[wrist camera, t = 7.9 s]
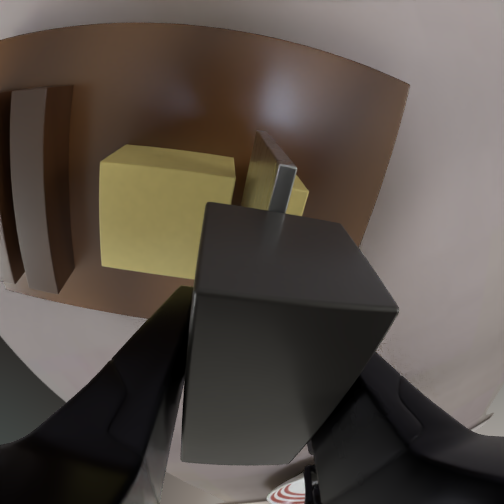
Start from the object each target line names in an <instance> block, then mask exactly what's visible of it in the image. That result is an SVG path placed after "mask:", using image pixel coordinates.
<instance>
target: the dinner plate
mask: <svg viewBox="0 0 504 504" xmlns="http://www.w3.org/2000/svg"><path fill="white" fill-rule="evenodd" d="M304 472H305V471H304ZM267 500H268V501H269V502H270V503H273V504H304V501H305V481H304V475H303V473H301V474H299V475H298V476H296V477H293V478H291V479H289V480H288V481H286V482H284V483H282V484H281V485H279V486H278V487H276V488H275V489H273V490H272V491H271V492H270V493H269V494H268V496H267Z"/></svg>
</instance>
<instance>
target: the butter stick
mask: <svg viewBox="0 0 504 504" xmlns="http://www.w3.org/2000/svg"><path fill="white" fill-rule="evenodd" d="M235 181H236V175H235V165H234V158H232V157H226V156H220V155H213V154H206V153H199V152H191V151H184V150H176V149H167V148H158V147H148V146H138V145H125V146H123V147H121V148H120V149H118V150H117V151H115V152H114V153H112V154H111V155H109V156H108V157H106V158H105V159H103V160H102V161H101V162H100V177H99V221H100V246H101V262H102V266H105V267H111V268H117V269H124V270H131V271H137V272H144V273H151V274H158V275H165V276H172V277H179V278H187V279H195V271H196V264H197V257H198V250H199V243H200V236H201V230H202V223H203V217H204V211H205V205H206V203H207V202H216V203H223V204H229V205H231V202H232V197H233V191H234V186H235Z"/></svg>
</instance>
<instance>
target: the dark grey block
mask: <svg viewBox="0 0 504 504" xmlns="http://www.w3.org/2000/svg"><path fill="white" fill-rule="evenodd" d="M296 172H297V167H296V166H295V164H294V163H293V162H292V161H291V160H290V158H289V157H288V156H287V155H286V154H285V153H284V151H283V150H282V149H281V148H280V147H279V146H278V144H277V143H276V142H275V141H274V140H273V139H272V137H271V136H270V135H269V134H268V133H267V132H264V131H256V135H255V140H254V145H253V149H252V154H251V159H250V163H249V168H248V173H247V178H246V183H245V188H244V192H243V197H242V202H241V206H236V205H229V204H223V203H216V202H207V203H206V205H205V211H204V217H203V223H202V230H201V236H200V243H199V250H198V257H197V264H196V271H195V279H194V286H193V295H192V304H191V314H190V324H189V334H188V345H187V357H186V369H185V383H184V398H183V415H182V435H181V461H182V462H188V463H200V464H216V465H282V464H289V463H290V462H291V461H292V460H293V459H294V457H295V456H296V455H297V454H298V453H299V452H300V451H301V450H302V448H303V447H304V446H305V445H306V444H307V443H308V441H309V440H310V439H311V438H312V437H313V436H314V434H315V433H316V432H317V431H318V430H319V428H320V427H321V426H322V425H323V423H324V422H325V421H326V420H327V418H328V417H329V416H330V415H331V413H332V412H333V411H334V409H335V408H336V407H337V405H338V404H339V403H340V402H341V400H342V399H343V397H344V396H345V395H346V393H347V392H348V391H349V389H350V388H351V386H352V385H353V384H354V382H355V381H356V379H357V378H358V377H359V375H360V374H361V372H362V371H363V369H364V368H365V366H366V365H367V363H368V362H369V360H370V359H371V357H372V356H373V354H374V353H375V351H376V349H377V348H378V346H379V345H380V343H381V342H382V340H383V338H384V337H385V335H386V333H387V332H388V330H389V328H390V327H391V325H392V323H393V322H394V320H395V318H396V317H397V315H398V313H399V307H398V305H397V304H396V302H395V301H394V299H393V298H392V296H391V295H390V293H389V292H388V290H387V289H386V287H385V286H384V284H383V283H382V281H381V280H380V278H379V277H378V275H377V274H376V272H375V271H374V269H373V268H372V266H371V265H370V264H369V262H368V261H367V259H366V258H365V256H364V255H363V254H362V252H361V251H360V249H359V248H358V247H357V245H356V244H355V242H354V241H353V240H352V238H351V237H350V235H349V234H348V233H347V231H346V230H345V229H344V227H343V226H342V225H341V224H340V223H336V222H330V221H325V220H320V219H314V218H309V217H303V216H297V215H291V214H286V210H287V207H288V203H289V199H290V195H291V191H292V188H293V184H294V180H295V176H296Z"/></svg>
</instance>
